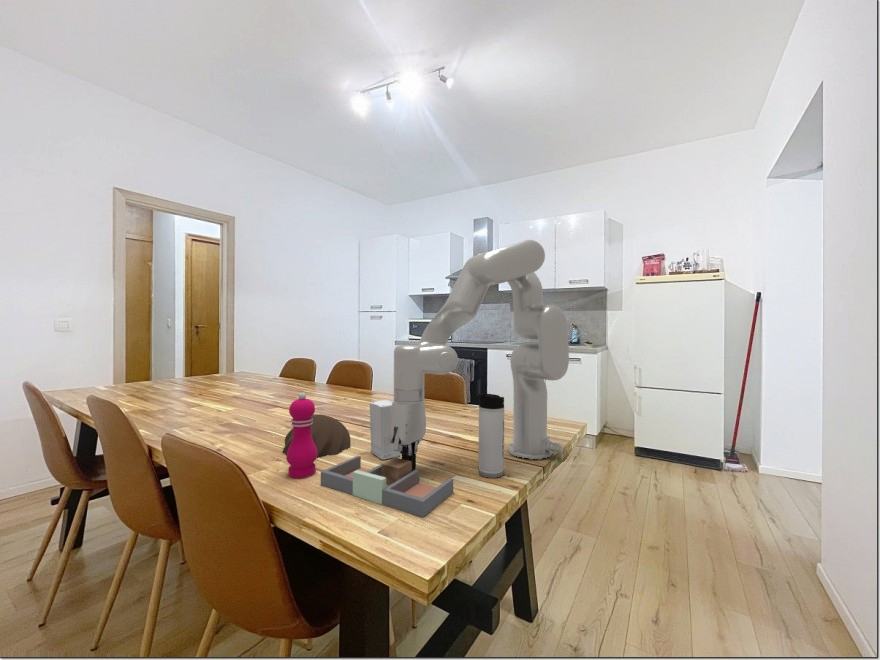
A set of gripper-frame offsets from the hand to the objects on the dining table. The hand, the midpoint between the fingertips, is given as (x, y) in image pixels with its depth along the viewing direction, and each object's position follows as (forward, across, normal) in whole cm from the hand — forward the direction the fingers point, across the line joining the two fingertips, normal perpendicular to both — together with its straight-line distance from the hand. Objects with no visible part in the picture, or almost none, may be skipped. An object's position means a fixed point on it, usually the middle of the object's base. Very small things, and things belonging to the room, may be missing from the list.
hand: (408, 469), depth 90 cm
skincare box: (+1, -8, -14) cm, 16 cm away
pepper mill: (+1, +13, -23) cm, 26 cm away
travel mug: (+1, -11, +17) cm, 20 cm away
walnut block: (+1, +5, 0) cm, 5 cm away
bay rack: (+1, +9, 0) cm, 9 cm away
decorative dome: (+2, -2, -35) cm, 35 cm away
